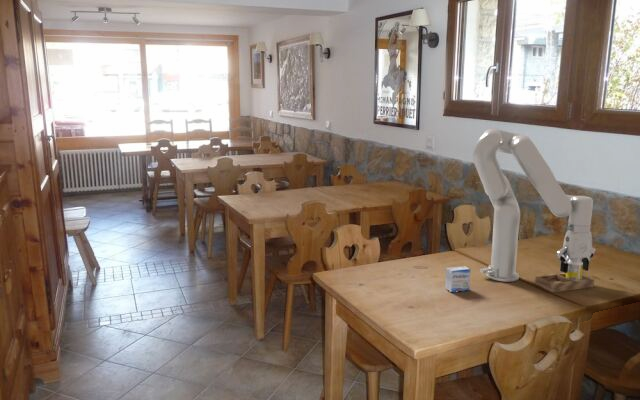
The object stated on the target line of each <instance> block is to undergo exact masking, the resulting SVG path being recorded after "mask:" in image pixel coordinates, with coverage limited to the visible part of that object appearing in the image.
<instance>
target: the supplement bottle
mask: <svg viewBox="0 0 640 400" xmlns="http://www.w3.org/2000/svg"><path fill="white" fill-rule="evenodd" d="M567 263H568V272H567V273H566V278H568V279H570V280H572V281H577V280H582V274H583V262H582V258H579V259H571V258H570V260H569V261H568V262H567Z"/></svg>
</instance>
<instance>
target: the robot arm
mask: <svg viewBox="0 0 640 400" xmlns="http://www.w3.org/2000/svg"><path fill="white" fill-rule="evenodd" d="M497 152H500V153H504V154H509V155H512V156H513V157H514V159H515V160H516V162H517V163H518V165H519V166H520V168H521V170H522V171H523V172H524V174H525V176H526V178H527V179H528V180H529V181H530V183H531V185H533V187H534V188H535V190H536V191H537V192H538V194H539V195H540V197H541V198H542V200H543V201H544V203H545V204H546V206H547V208H548V210H550V212H551V214H553V215H554V216H555V217H557V218H566V217H569V218H568V224H567V225H568V226H566V230H567V231H566V232H565V235H564V238H563V245H562V247H561V248H560V249H559V250H556V255H557V259H558V260H559V261H560V270H559V271H560V272H561V273H567V272H568V263H567V262H568V261H569V260H570V258H571V259H579V258H581V261H582V262H583V269H582V271H586V272H587V271H589V267H590V262H591V260H592V258H593V257H594V254H595V252H596V248H595V247H593V237H592V236H593V235H592V231H591V225H592V224H591V223H592V217H593V216H592V215H593V207H594V200H593V198H592V197H590V196H587V195H570V194H566V193H565V192H564V190H563V189H562V187H561V186H560V184H559V182H558V181H557V179H556V177H555V175H554V173H553V170H552V169H551V167H550V166H549V164H548V163H547V162H546V160H545V158H544V157H543V156H542V155H543V154H541V153H540V150H539V149H538V148H537V146H536V145H535V144H534V142H533V140H532V139H531V138H530V137H529V136H526V135H523V134H519V133H515V132H509V131H506V130H502V129H499V128H489V129H487V130H485V131H484V132H483V133H482V135H481V136H480V137H479V139H478V140H477V142H476V143H475V145H474V148H473V152H472V158H473V159H472V160H473V164H474V166H475V169H476V171H477V173H478V176H479V179H480V182H481V183H482V186H483V190H484V192H485V194H486V195H487V196H488V197H489V200H490V202H491V204H492V207H493V225H492V226H493V227H492V243H491V244H492V245H491V258H490V259H491V260H490V264H488V267H485V268H480V269H479V273H480V274H485V275H486V277H487V278H489V279H491V280H494V281H497V282H503V283H506V282H507V283H508V282H516V281H518V280H519V279H520V274H519V273H517V272H516V268H517V256H518V255H517V254H518V246H519V245H518V242H519V239H518V238H519V229H520V221H521V210H520V206H519V202H518V200H517V198H516V195H515V194H514V191H513V189H512V186H511V183H510V182H509V179H508V177H507V176H506V175H505V174H503V171H502V169H501V166H500V164H499V161H498V159H497Z"/></svg>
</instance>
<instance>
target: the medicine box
mask: <svg viewBox="0 0 640 400" xmlns="http://www.w3.org/2000/svg"><path fill="white" fill-rule="evenodd" d="M470 279H471V269H470V268H469V267H467V266H465V265H464V266H463V265H461V266H451V267H446V269H445V288H446V289H445V290H446V291H448V290H449V291H448V292H450V293H451V292H454V293H457V292H456V291H462V292H466V291H465V290H469V291H470V284H471V283H470V282H471V280H470Z"/></svg>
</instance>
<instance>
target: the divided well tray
mask: <svg viewBox="0 0 640 400" xmlns="http://www.w3.org/2000/svg"><path fill="white" fill-rule="evenodd" d="M534 279H535V280H534V281H535V282H534V284H535V285H537V286H539V287H541V288H543V289H545V290H547V291H549V292H551V293H557V292H565V291H571V290H572V291H573V290H580V289H586V288H587V289H588V288H594V287H595V286H594V285H595V279H594V278H592V277H590V276H587V275H586V274H583V273H582V280H577V281H572V280H570V279H568V278H566V273H564V272H559V273H550V274H544V275H543V274H542V275H535V278H534Z"/></svg>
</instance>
